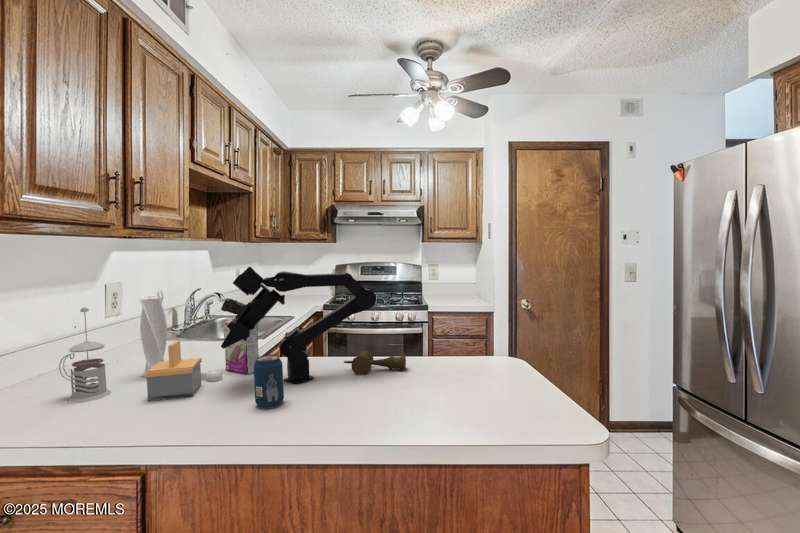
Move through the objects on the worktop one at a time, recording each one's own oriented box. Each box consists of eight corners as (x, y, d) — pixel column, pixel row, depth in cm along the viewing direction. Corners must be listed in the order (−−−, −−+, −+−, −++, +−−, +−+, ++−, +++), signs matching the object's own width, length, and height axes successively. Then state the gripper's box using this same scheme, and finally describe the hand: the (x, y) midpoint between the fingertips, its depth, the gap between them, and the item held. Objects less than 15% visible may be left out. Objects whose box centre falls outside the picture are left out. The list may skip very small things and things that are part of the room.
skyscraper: (177, 374, 135) (172, 289, 134) (152, 381, 128) (147, 291, 127) (161, 371, 139) (156, 288, 138) (136, 378, 132) (131, 291, 131)
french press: (99, 400, 111) (93, 308, 110) (51, 404, 110) (45, 311, 109) (118, 388, 121) (113, 304, 120) (74, 392, 119) (68, 306, 118)
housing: (201, 385, 122) (200, 361, 122) (193, 396, 112) (191, 371, 112) (160, 389, 119) (158, 365, 119) (148, 401, 110) (146, 375, 109)
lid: (201, 361, 123) (200, 337, 122) (192, 373, 111) (190, 345, 111) (160, 365, 120) (159, 340, 120) (146, 377, 108) (144, 349, 108)
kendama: (405, 376, 126) (340, 375, 127) (406, 368, 135) (346, 367, 137) (404, 357, 126) (340, 356, 127) (406, 350, 135) (346, 349, 137)
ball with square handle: (225, 378, 128) (225, 370, 128) (215, 382, 124) (214, 374, 124) (206, 376, 131) (205, 368, 131) (195, 380, 126) (195, 372, 126)
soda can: (270, 398, 109) (267, 353, 109) (290, 401, 106) (287, 355, 105) (249, 407, 103) (247, 359, 102) (269, 411, 100) (267, 362, 99)
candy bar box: (224, 371, 136) (222, 321, 136) (237, 367, 140) (235, 319, 140) (247, 375, 130) (244, 323, 130) (260, 371, 135) (257, 321, 134)
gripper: (242, 285, 128) (206, 324, 126) (233, 290, 110) (191, 336, 108) (270, 308, 130) (235, 347, 128) (266, 317, 112) (225, 362, 110)
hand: (222, 347), depth 118 cm, fingers closed
